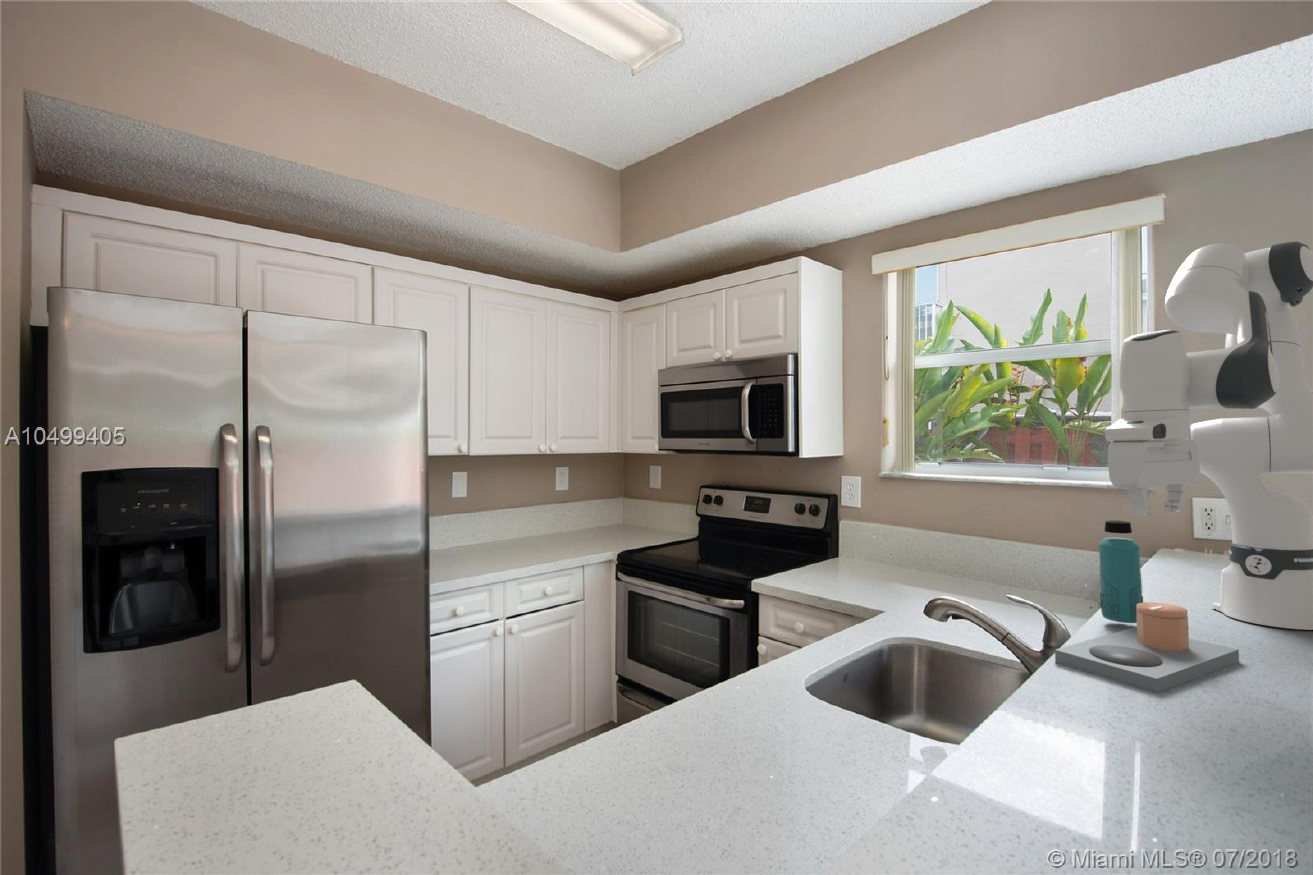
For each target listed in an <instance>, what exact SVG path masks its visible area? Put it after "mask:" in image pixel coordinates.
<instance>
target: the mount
mask: <svg viewBox="0 0 1313 875" xmlns="http://www.w3.org/2000/svg"><path fill="white" fill-rule="evenodd" d="M1239 650H1240V649H1239V648H1234V647H1229V646H1225V645H1220V644H1216V643H1211V642H1207V641H1204V640H1203V641H1202V640H1198V639H1194V638H1190V637H1189V648H1188V649H1185V650H1182V651H1173V650H1161V649H1157V648H1153V647H1149V646H1145V645H1143V644H1141V643H1140V642H1139V641H1137V626H1135V627H1131V628H1128V629H1124V630H1121V631H1120V630H1119V631H1116V632H1113V633H1110V634H1106V635H1101V636H1099V637H1095V638H1092V639H1089V640H1088V639H1087V640H1085V641H1082V642H1077V643H1074V644H1070V645H1067V646H1063V647H1059V648H1056V649H1054V660H1055V663H1058V664H1061V665H1063V666H1067V667H1070V668H1073V669H1077V670H1080V671H1083V672H1087V673H1091V674H1094V675H1097V676H1099V677H1103V678H1107V679H1110V680H1114V681H1115V682H1120V683H1123V684H1126V685H1130V686H1133V687H1136V688H1140V689H1143V690H1147V691H1150V692H1152V693H1156V694H1158V693H1161V692H1163V691H1167V690H1169V689H1173V688H1174V687H1177V686H1180V685H1182V684H1184V683H1188V682H1190V681H1192V680H1193V681H1194V680H1195V679H1198V678H1200V677H1203V676H1207V675H1208V674H1213V673H1214V672H1216V671H1220V670H1222V669H1224V668H1228V667H1230V666H1233V665H1235V664H1239V663H1240V654H1239V653H1240V652H1239Z"/></svg>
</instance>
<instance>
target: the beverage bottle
mask: <svg viewBox="0 0 1313 875" xmlns="http://www.w3.org/2000/svg"><path fill="white" fill-rule="evenodd" d="M1132 531H1133V530H1132V525H1131V521H1128V520H1127V521H1126V520H1115V519H1114V520H1105V522H1104V532H1105V533H1111V534H1132V533H1133V532H1132ZM1098 548H1099V576H1100V577H1099V584H1100V592H1099V595H1100V599H1099V600H1100V610H1101V615H1102V617H1103V618H1104V619H1105V620H1109V621H1112V622H1118V623H1125V624H1137V616H1136V610H1137V605H1136V604H1138V603H1144V596H1143V591H1144V589H1143V588H1144V587H1143V579H1142V573H1141V571H1142V570H1141V558H1140V557H1141V556H1140V555H1141V554H1140V552H1141V551H1140V548H1141V546H1140V544H1139V543H1138V542H1136V541H1135V540H1134V539H1132V538H1127V537H1116V536H1115V537H1112V536H1111V537H1104V538H1103V539H1101V541H1099V543H1098Z"/></svg>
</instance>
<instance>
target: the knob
mask: <svg viewBox="0 0 1313 875" xmlns="http://www.w3.org/2000/svg"><path fill="white" fill-rule="evenodd" d="M1136 605H1137V610H1136V616H1137V623H1136V627H1137V641H1139V642H1140V643H1141V644H1143V645H1145V646H1149V647H1153V648H1157V649H1161V650H1173V651H1182V650H1185V649H1188V648H1189V638H1190V636H1189V617H1188V610H1187V608H1185V607H1182V606H1180V605H1179V606H1178V605H1174V604H1170V603H1162V602H1148V601H1147V602H1145V601H1143V603H1138V604H1136Z"/></svg>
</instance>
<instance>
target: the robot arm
mask: <svg viewBox="0 0 1313 875" xmlns="http://www.w3.org/2000/svg"><path fill="white" fill-rule="evenodd" d="M1312 289H1313V251H1312V250H1311V249H1310V247H1309V246H1308V245H1306V244H1305V243H1302V242H1300V241H1286V242H1280V243H1275V244H1272V245H1271V246H1270V247H1265V248H1261V249H1255V250H1253V251H1248V252H1244V251H1242V250H1241V249H1240V248H1239V247H1238V246H1235V245H1232V244H1228V243H1213V244H1208V245H1205V246H1202V247H1200V248H1198V249H1196V250H1195V251H1193V252H1192V253H1190V255H1189V256H1188V257H1187V258H1186V259H1185V261H1184V262H1182V264H1181V265H1180V267H1179V268H1178V269H1177V271H1176V273H1175V275H1174V276H1173V278H1172V281H1171V282H1170V284H1169V287H1168V289H1167V292H1166V295H1165V300H1164V310H1165V313H1166V316H1167V317H1168V318H1169V320H1170V321H1171V322H1172V323H1173V324H1175V325H1176V326H1177V327H1179V328H1181V329H1183V330H1184V331H1185V330H1186V331H1188V332H1191V333H1197V334H1198V333H1199V334H1225V335H1226V336H1225V343H1224V344H1225V346H1224V348H1218V349H1212V350H1211V349H1210V350H1202V351H1193V352H1192V351H1191V352H1187V348H1186V345H1185V344H1186V343H1185V339H1184V336H1183V334H1182V332H1181V331H1179V330H1176V329H1167V330H1166V329H1164V330H1157V331H1156V330H1155V331H1149V332H1145V333H1137V334H1134V335H1130V336H1129V337H1127V338H1126V339H1124V341H1123V344H1122V348H1121V354H1120V361H1119V363H1120V364H1119V389H1120V391H1121V393H1122V398H1123V400H1122V405H1121V407H1120V419H1118V420H1117V421H1116V422H1114V423H1113V424H1111V425H1110V426H1108V427H1107V428H1106V429H1105V431H1104V436H1105V440H1106V441H1107V442H1110V443H1109V444H1108V448H1107V467H1108V468H1107V469H1108V476H1109V481H1110V483H1111V484H1112V487H1114V488H1115V489H1116V488H1118V489H1127V496H1128V498H1129V501H1130V502H1131V504H1132V514H1133V515H1134V516H1136V517H1147V516H1151V504H1148V500H1147V496H1146V495H1148V488H1153V487H1155V488H1158V487H1165V490H1166V491H1167V496H1166V500H1164V501H1163V503H1164V504H1163V505H1164V508H1163V510H1164V511H1166V512H1167V513H1180V512H1181V511H1182V508H1183V507H1182V501H1183V500H1184V496H1185V493H1186V485H1187V484H1189V485H1190V484H1197V483H1198V482H1199V480H1200V477H1201V474H1203V476H1206V477H1207V479H1208V478H1209V480H1211V482H1212V483H1214V485H1216V486H1217V488H1218V489H1219V491H1221V493H1222V495H1223V497H1224V499H1225V501H1226V503H1227V506H1228V512H1229V516H1230V517H1229V518H1230V525H1231V542H1230V543H1229V549H1228V554H1229V561H1230V564H1229V565H1228V566H1226V567H1225V568H1223V569H1222V570H1221V574H1220V575H1221V577H1220V578H1221V579H1220V592H1219V593H1220V594H1219V597H1220V598H1219V601H1218V602H1212V603H1211V609H1213V610H1215V609H1216V610H1215V611H1219V612H1222V614H1224V615H1225V616H1228V617H1229V618H1233V619H1236V620H1239V621H1243V622H1247V623H1250V624H1251V623H1252V624H1257V625H1263V626H1268V627H1272V628H1273V627H1275V628H1283V629H1292V630H1304V631H1305V630H1307V631H1308V630H1310V631H1312V630H1313V511H1312V509H1311V507H1310V506H1309V504H1307V503H1306V502H1305V501H1304V500H1303V499H1300V498H1298V497H1296V496H1294V495H1291V494H1289V493H1286V492H1284V491H1281V490H1277V489H1275V488H1273V487H1270V486H1269V485H1268V484H1267V483H1265V481H1264V478H1263V477H1264V476H1265V475H1270V474H1276V475H1277V474H1280V475H1281V474H1288V475H1289V474H1290V475H1292V474H1294V475H1296V474H1297V475H1298V474H1299V475H1301V474H1302V475H1306V474H1307V475H1313V390H1312V389H1311V386H1310V385H1309V382H1308V377H1307V374H1306V370H1305V363H1304V355H1303V352H1304V351H1303V344H1302V337H1301V332H1300V328H1299V324H1298V322H1297V319H1296V316H1295V314H1294V312H1293V310H1292V309H1291V307H1293V308H1294V307H1297V306H1298V305H1300V304H1301V303H1302V302H1303V298H1304V297H1305V296H1306V295H1307V294H1309V293H1310V292H1311V290H1312ZM1289 305H1290V306H1291V307H1290V306H1289ZM1256 408H1260V409H1263V410H1264V411H1266V412H1268V413H1269V414H1270V415H1267V416H1255V417H1253V416H1252V417H1251V416H1250V417H1248V416H1247V417H1227V418H1224V417H1223V418H1222V417H1221V418H1215V419H1210V420H1205V421H1199V422H1195V423H1191V410H1207V409H1208V410H1209V409H1242V410H1243V409H1246V410H1247V409H1248V410H1251V409H1252V410H1254V409H1256Z"/></svg>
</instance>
